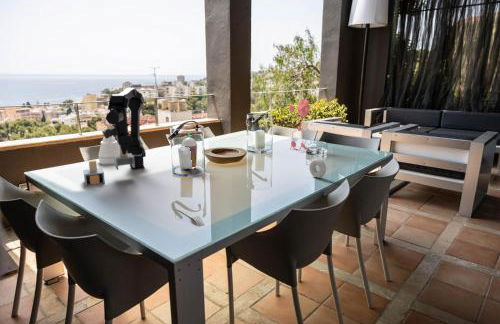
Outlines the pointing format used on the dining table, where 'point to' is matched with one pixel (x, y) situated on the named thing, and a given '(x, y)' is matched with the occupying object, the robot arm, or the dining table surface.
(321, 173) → the donut
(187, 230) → the dining table surface
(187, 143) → the smoothie
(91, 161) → the blue-grey and tan block
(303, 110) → the figurine
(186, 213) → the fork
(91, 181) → the letter cube
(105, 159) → the honey pot
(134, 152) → the robot arm
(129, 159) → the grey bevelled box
